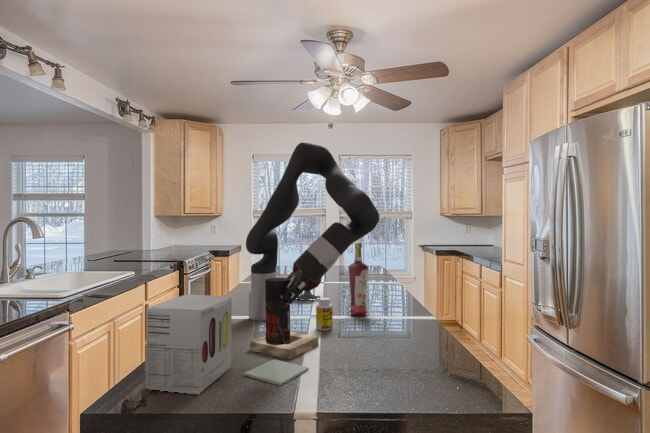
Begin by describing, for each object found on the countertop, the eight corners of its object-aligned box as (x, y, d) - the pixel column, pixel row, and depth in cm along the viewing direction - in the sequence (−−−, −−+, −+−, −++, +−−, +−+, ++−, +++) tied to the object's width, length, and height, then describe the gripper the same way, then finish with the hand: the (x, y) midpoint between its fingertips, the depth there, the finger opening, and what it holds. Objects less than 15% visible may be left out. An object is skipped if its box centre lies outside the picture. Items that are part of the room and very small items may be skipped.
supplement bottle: (321, 331, 133) (321, 300, 133) (313, 328, 137) (313, 298, 137) (335, 329, 136) (335, 299, 136) (326, 325, 141) (326, 296, 141)
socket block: (250, 350, 114) (250, 341, 114) (281, 337, 126) (281, 329, 126) (289, 359, 107) (289, 349, 107) (318, 345, 119) (318, 336, 119)
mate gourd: (286, 297, 190) (286, 255, 190) (309, 294, 199) (308, 253, 199) (307, 303, 178) (307, 257, 178) (330, 298, 188) (330, 255, 188)
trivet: (244, 375, 96) (244, 372, 96) (273, 361, 105) (273, 359, 105) (280, 385, 90) (280, 382, 90) (308, 369, 100) (308, 367, 100)
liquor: (358, 318, 150) (358, 243, 151) (344, 315, 156) (344, 242, 156) (371, 315, 155) (371, 242, 155) (358, 312, 161) (357, 241, 161)
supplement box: (200, 396, 85) (201, 310, 85) (143, 391, 87) (144, 308, 87) (233, 366, 102) (233, 295, 102) (185, 363, 104) (185, 293, 105)
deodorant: (266, 337, 101) (266, 277, 101) (290, 337, 101) (289, 277, 101) (264, 345, 95) (264, 281, 95) (290, 344, 95) (289, 281, 95)
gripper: (302, 246, 107) (257, 293, 104) (313, 251, 93) (261, 305, 90) (322, 266, 108) (278, 313, 105) (335, 273, 94) (285, 327, 91)
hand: (270, 309), depth 98 cm, fingers closed on deodorant, 6 cm apart
